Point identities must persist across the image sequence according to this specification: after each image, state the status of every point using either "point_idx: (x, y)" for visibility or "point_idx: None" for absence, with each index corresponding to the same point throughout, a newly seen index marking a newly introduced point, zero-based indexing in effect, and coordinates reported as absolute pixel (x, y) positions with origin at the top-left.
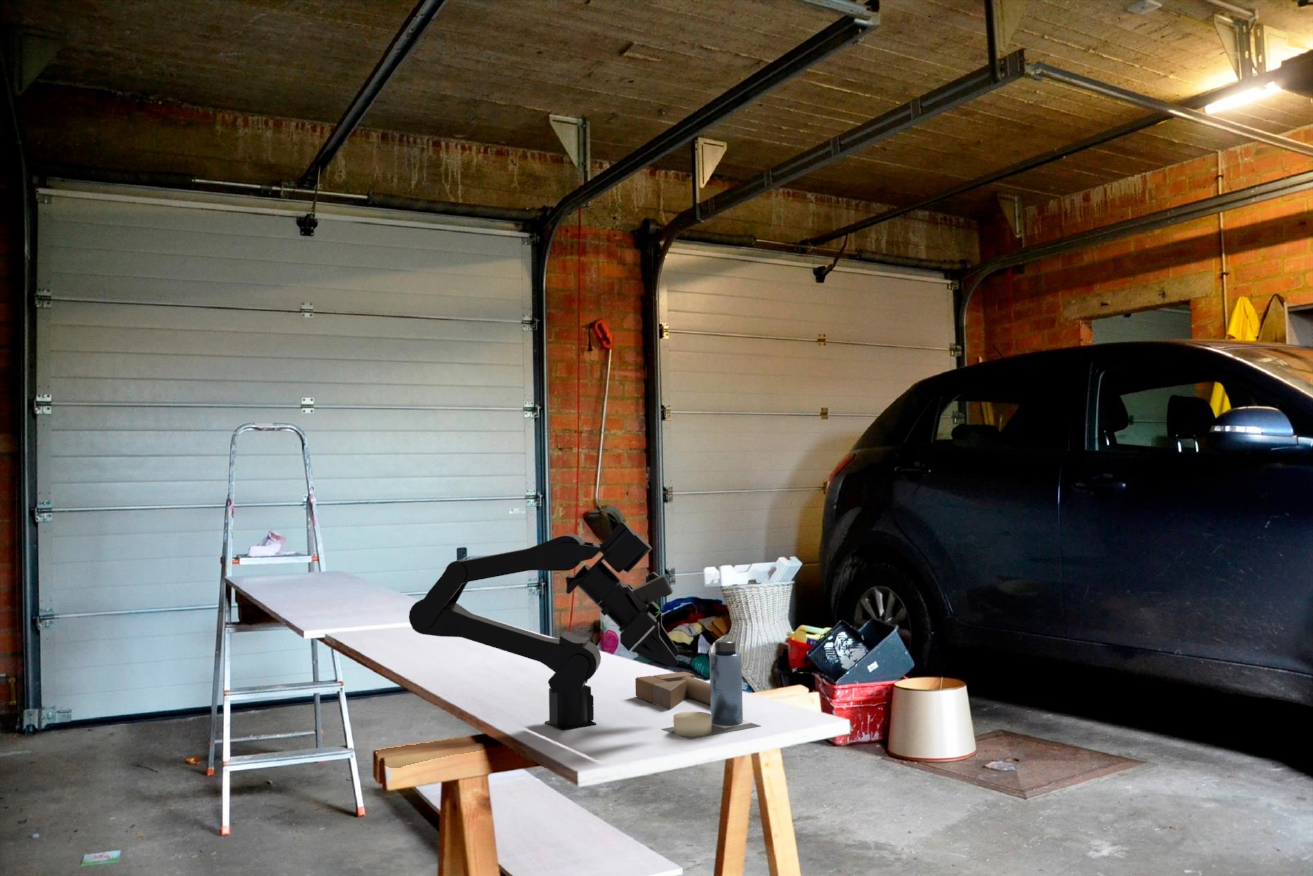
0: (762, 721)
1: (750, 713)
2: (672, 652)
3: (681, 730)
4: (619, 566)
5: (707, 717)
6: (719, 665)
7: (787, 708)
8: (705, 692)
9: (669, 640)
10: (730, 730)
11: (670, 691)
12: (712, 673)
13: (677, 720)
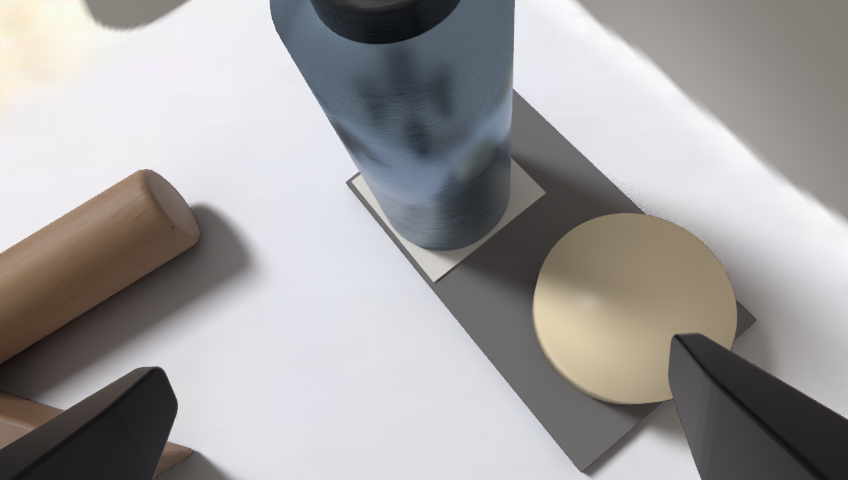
0: None
1: (258, 126)
2: (150, 434)
3: None
4: None
5: (659, 228)
6: (506, 48)
7: (198, 19)
8: (89, 283)
9: (40, 477)
10: (576, 167)
11: None
12: (471, 131)
13: None
